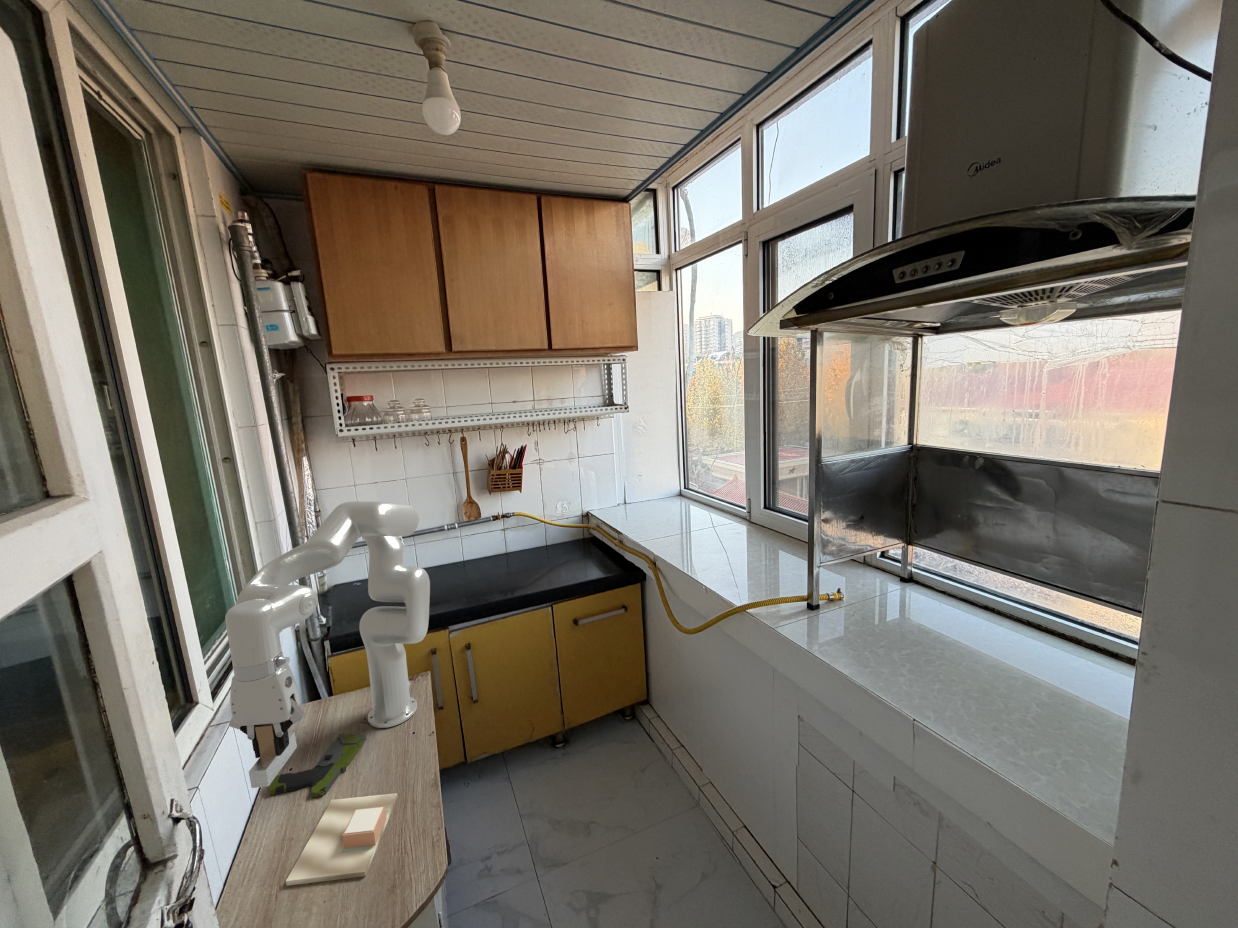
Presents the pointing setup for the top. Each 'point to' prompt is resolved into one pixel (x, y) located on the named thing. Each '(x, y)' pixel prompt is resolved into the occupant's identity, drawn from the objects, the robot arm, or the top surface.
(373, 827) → the tile
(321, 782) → the gun
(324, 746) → the top surface
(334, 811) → the board
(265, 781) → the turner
